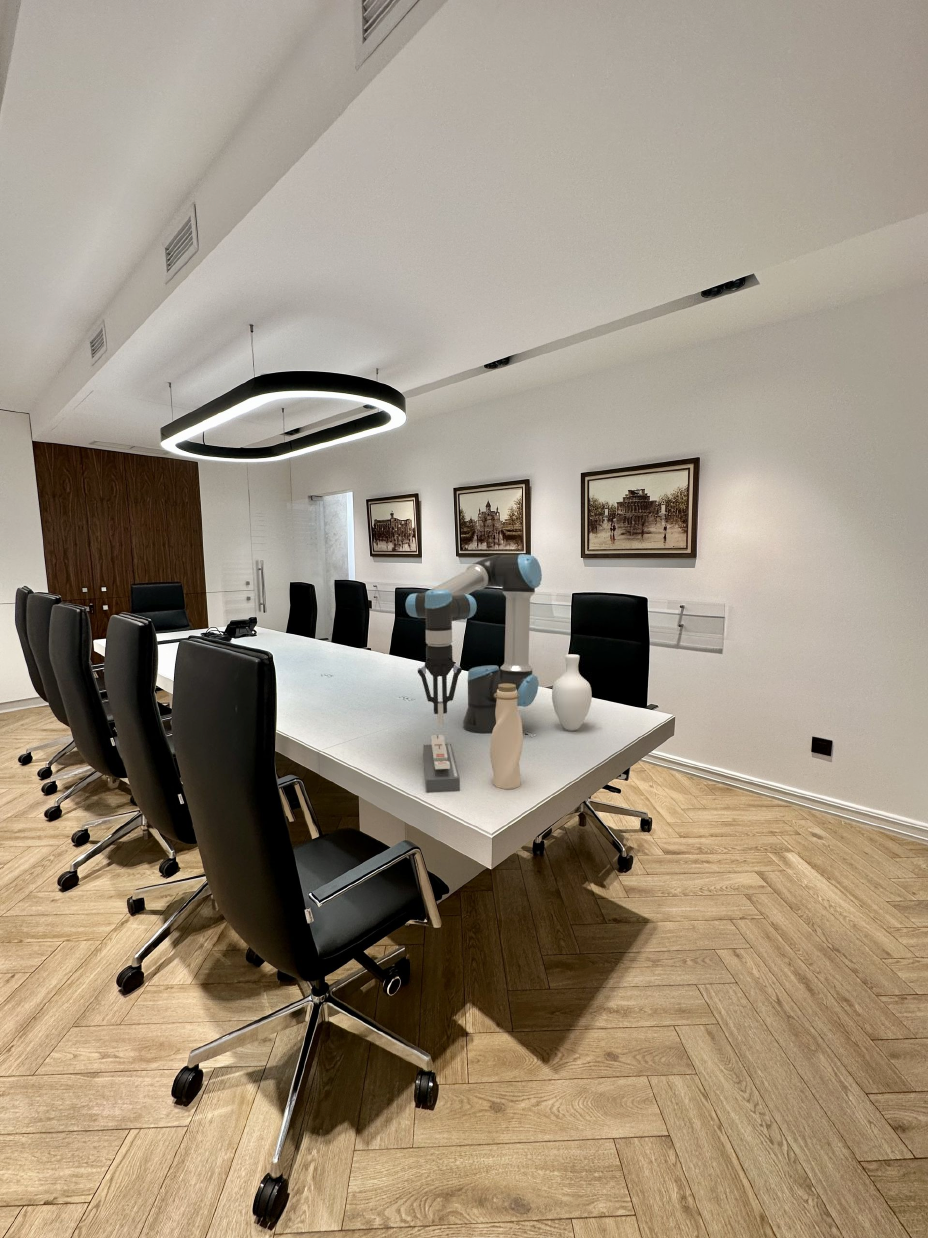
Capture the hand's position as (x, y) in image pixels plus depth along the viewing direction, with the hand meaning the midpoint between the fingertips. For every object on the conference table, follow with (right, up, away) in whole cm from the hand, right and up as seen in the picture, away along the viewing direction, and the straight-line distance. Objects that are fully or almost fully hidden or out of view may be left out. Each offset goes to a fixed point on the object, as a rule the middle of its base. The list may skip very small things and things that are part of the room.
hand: (440, 724), depth 151 cm
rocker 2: (0, -9, +3) cm, 10 cm away
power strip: (-1, -14, +8) cm, 16 cm away
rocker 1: (-1, -8, +12) cm, 15 cm away
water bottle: (+19, -16, -4) cm, 25 cm away
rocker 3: (+1, -10, -6) cm, 12 cm away
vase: (+47, -11, +43) cm, 64 cm away
